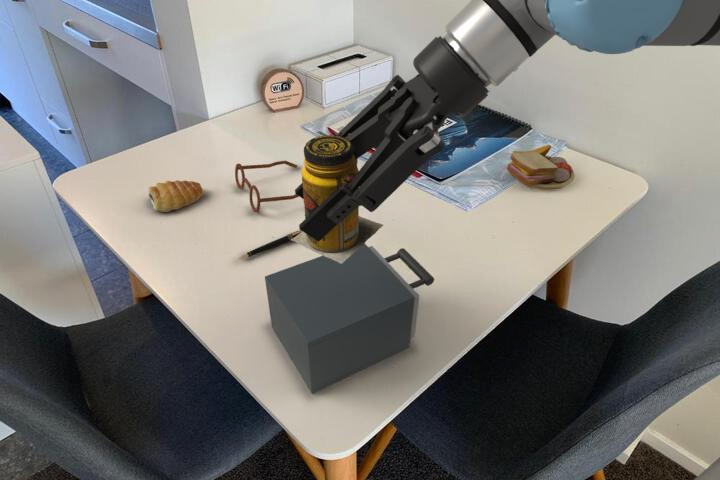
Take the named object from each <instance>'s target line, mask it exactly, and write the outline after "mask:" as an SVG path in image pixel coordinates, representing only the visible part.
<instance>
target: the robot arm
mask: <svg viewBox="0 0 720 480" xmlns="http://www.w3.org/2000/svg"><path fill="white" fill-rule="evenodd" d="M445 32H446V34H445V35H444V36H443V37H442V36H441V35H439V36H438V37H437V36H435V37H434V38H433V39H432V40H431V41H430V42H429V43H428V44H427V45H426V46H425V47H424V48H423V49H422V50H421V51H420V52H419V53H418V54H417V55H416V56H415V57H414V58H413V61H412V64H413V67H414V69H415V70H416V72H417V74H416V75H415V76H414V77H413V78H410V79H409V80H408V81H405V79H403V78H402V77H401V75H399V74H396V75H395V76H393V77H392V78H391V80H390V81H389V83H388V84H387V85H386V86H385V87H384V89H383V90H381V92H380V93H379V94H378V95H376V96H375V98H373V99H372V101H370V102H369V103H368V104H367V105H366V106H365V107H363V109H362V110H361V111H360V112H358V113H357V114H356V115H355V116H354V117H353V118H352V119H351V120H350V121H349V122H348V123H347V124H346V125H345V126H344V127H343V128H342V129H341V130H340V131H338V133H337V134H336V136H341V137H345V138H346V139H348V140H350V141H351V143H352V144H353V146H354V148H355V154H354V156H355V161H356V163H355V164H356V166H357V167H358V160H359V158H361V157H362V156H364V155H365V154H367V153H368V152H369V151H371V150H372V149H374V148H375V147H376V148H375V149H374V151H373V153H372V154H371V155H370V156H369V158H368V159H367V160H366V161H365V163H364V164H363V165H362V166H361V168H360V169H358V170H359V172H358V173H357V174H356V175H355V177H354V178H353V179H352V181H351V182H350V183H349V184H348V186H346V185H345V184H344V183H342V182H341V184H340V187H339V188H338V189H336V190H335V191H334V192H333V193H332V194H331V195H330V196H329V197H328V198H327V199H326V200H325V201H324V202H323V203H322V204H321V205H320V206H319V207H317V208H316V209H315V210H314V211H313V212H312V213H311V214H310V215H309V216H308V217H307V218H306V219H305V218H304V219H303V221H302V222H300V223H299V225H298V228H299V230H301V231H303V232H304V233H306V234H307V235H309V236H310V237H312V238H314V239H315V240H317V241H318V242H319V241H320V240H321V239H322V238H323V237H324V236H325V235H327V234H328V233H329V232H330V231H331V230H332V229H333V228H334V227H335V226H336V225H337V224H339V223H341V222H342V221H343V220H344V219H345V218H346V217H347V216H348V215H349V214H351V213H352V212H353V211H354V210H355V209H356V208H357V207H359V208H360V207H363V208H364V209H366V210H367V211H368V212H370V213H373V212H374V211H376V210H377V209H378V208H380V206H382V204H383V203H384V202H385V201H386V200H387V199H388V198H389V197H390V196H391V195H392V194H394V193H395V191H397V189H399V188H400V187H401V186H402V185H403V184H404V183H405V182H406V181H407V180H408V179H409V178H410V177H411V176H412V175H413V174H414V173H415V172H416V171H417V170H419V168H420V167H421V166H423V164H425V162H427V161H428V160H429V159H431V158H433V157H435V156H436V155H438V154H439V153H440V152H442V151H443V150H444V149H445V147H446V142H445V140H443V139H442V137H440V135H439V134H440V133H439V132H440V131H439V130H440V129H441V128H442V126H443V125H444V124H445V122H446V120H447V119H448V118H449V117H450V115H452V114H455V115H456V116H458V117H460V118H465V117H466V116H468V115H469V114H470V113H471V112H472V111H473V110H474V109H475V108H476V107H477V106H478V105H480V103H482V102H483V101H484V100H485V99H486V98H488V97H489V94H488V93H490V90H489V89H488V87H489V86H490V85H492V86H493V87H499V85H501V84H502V83H503V82H504V81H505V80H506V79H507V78H508V77H509V76H511V75H512V74H513V73H514V72H516V71H518V70H519V67H520V66H521V65H523V63H524V62H526V61H527V59H529V58H531V57H532V56H534V54H536V53H537V52H538V51H539V50H540V49H541V48H542V47H544V46H545V44H547V43H548V42H549V41H550V40H551V39H553V37H555V36H557V37H558V38H560V39H562V40H563V41H565V42H567V43H568V44H569V45H570V46H574V47H576V48H578V49H579V50H581V51H585V52H588V53H592V52H595V53H600V54H604V55H620V54H626V53H630V52H633V51H634V50H636V49H640V48H642V47H645V46H647V47H648V46H649V47H687V46H688V47H689V46H690V47H696V46H713V47H715V46H718V47H720V0H470V1H469V2H467V4H466V5H465V6H464V7H463V8H462V9H461V10H460V11H459V12H458V13H457V14H456V15H455V16H454V17H453V18H452V19H451V20H450V21H448V23H447V24H446V25H445ZM399 135H400V136H401V137H402V138H403V139H404V140H405V141H404V140H403V139H402V138H401V137H400V136H399ZM358 187H359V188H358ZM295 194H297V195H298V196H299V197H298V198H301V199H302V200H304V195H303V183H302V182H301V183H300V184H299V185H298V186H297V187H296V188H295V189H294V195H295ZM693 480H720V456H719V457H718V458H717V459H716V460H715V461H714V462H712V463H711V464H710V465H709V466H708V467H707V468H706V469H704V470H703V471H702V472H701V473H700V474H699V475H697V476H696V477H695V478H694V479H693Z"/></svg>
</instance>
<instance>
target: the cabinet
mask: <svg viewBox="0 0 720 480" xmlns="http://www.w3.org/2000/svg"><path fill="white" fill-rule="evenodd" d="M369 247H370V246H368V245H367V244H366V242H365V243H364V244H363V245H362V246H361V247H360V248H359V249H358V250H357V251H356V252H354V253H353V254H352V255H351V256H350V257H349V258H348V259H346V260H345V261H344V262H343V263H342V264H341V263H339V262H337V261H335V260H332V259H331V258H328V257H325V256H323V255H321V256H318V257H314V258H312V259H310V260H306V261H303V262H301V263H298V264H296V265H293V266H289V267H286V268H285V269H281V270H279V271H276V272H273V273H270V274H267V275H265V276H264V281H265V288H266V296H267V302H268V310H269V315H270V323H271V324H270V325H271V328H272V330H273V332H274V333H275V335H276V336H277V338H278V340H279V342H280V343H281V345H282V347H283V349H284V350H285V351H286V353H287V356H289V358H290V360H291V362H292V363H293V365H294V367H295V368H296V371H297V372H298V373H299V375H300V377H301V378H302V380H303V382H304V384H305V385H306V387H307V389H308V390H309V392H310V394H312V395H313V394H315V393H317V392H319V391H321V390H323V389H325V388H327V387H330V386H333V384H337V382H340V381H342V380H344V379H346V378H348V377H351V376H353V375H355V374H357V373H359V372H361V371H363V370H365V369H367V368H370V367H371V366H374V365H375V364H378V363H380V362H382V361H384V360H386V359H388V358H391V357H393V356H395V355H396V354H399V353H400V352H403V351H405V350H407V349H410V346H411V339H410V337H411V328H412V318H413V309H414V299H415V297H414V296H413V294H412V293H411V292H410V291H409V290H408V289H407V288H406V287H405V286H404V285H403V284H402V283H401V282H400V281H399V279H398V278H397V277H396V276H395V275H394V274H393V273H392V272H391V271H390V270H389V269H388V268H387V267H386V266H385V264H384V263H383V262H382V261H381V260H380V259H379V258H378V257H377V256H376V255H375V254H374V253H373V252H372V251H371V249H370V248H369Z"/></svg>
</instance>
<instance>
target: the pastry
mask: <svg viewBox="0 0 720 480" xmlns="http://www.w3.org/2000/svg"><path fill="white" fill-rule="evenodd" d="M147 194H148V197H149V198H150V200H151V201H150V204H151V205H152V208H153V210H154V211H157V212H162V213H169V212H171V211H173V210H180V209H182V208H184V207H188V205H192V204H193V203H196V201H198V200H199V199H200V198H201V197H203V195H204V191H203V187H202V185H201V183H200V182H196V181H194V180H193V181H192V180H178V179H176V180H173V181H170V180H165V182H157V183H156V184H155V185H154V186H149V187H148V191H147Z"/></svg>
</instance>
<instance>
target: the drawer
mask: <svg viewBox="0 0 720 480" xmlns="http://www.w3.org/2000/svg"><path fill="white" fill-rule="evenodd" d="M368 247H369V248H370V249H371V251H372V252H373V253H374V254H375V255H376V256H377V257H378V258H379V259H380V260H381V261H382V262H383V263H384V264H385V266H386V267H387V268H388V269H389V270H390V271H391V272H392V273H393V274H394V275H395V276H396V277H397V278H398V279H399V281H400V282H401V283H402V284H403V285H404V286H405V287H406V288H407V289H408V290H409V291H410V292H411V293H412V294H413V296H414V297H415V299H414V309H413V318H412V328H411V337H410V340H411V339H413V338H415V337H416V329H417V319H418V313H419V312H418V311H419V302H420V294H419V293H418V292H416V290H415V289H416V288H419V287H421V286H424V285H425V286H427V287H429V286H431V285H432V284H434V282H435V277H434V276H433V275H432V274H431V273H429V271H427V269H426V268H425V267H424V266H422V265H421V263H420V262H419V261H417V259H416V258H415V257H413V255H412V254H411V253H409V252H408V251H407V250H406V248H404V247H402V248H400V249H398V250H397V252H396V253H394V254H391V255H389V256H387V257H384V256H383V255H382V254H381V253H380V252H379V251H378V250H377V249H376V248H375V247H374V246H373V245H371V246H368ZM399 259H400V260H401V261H402V262H403V263H404V264H405V265H406V266H407V267H408V268H409V270H411V271H412V273H413V274H415V276H416V277H417V278H418V280H415V281H413V282H410V283H408V282H407V280H405V279H404V277H402V276H401V274H400V273H398V271H397V270H396V269H395V268H394V267H393V266H392V265H391V262H395V261H397V260H399Z"/></svg>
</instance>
